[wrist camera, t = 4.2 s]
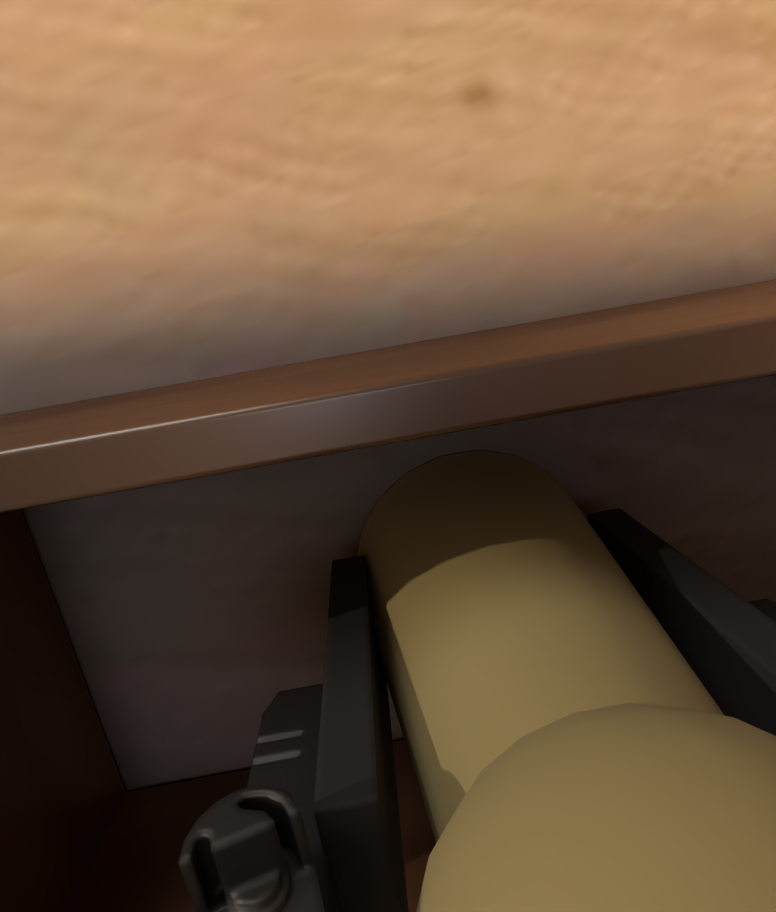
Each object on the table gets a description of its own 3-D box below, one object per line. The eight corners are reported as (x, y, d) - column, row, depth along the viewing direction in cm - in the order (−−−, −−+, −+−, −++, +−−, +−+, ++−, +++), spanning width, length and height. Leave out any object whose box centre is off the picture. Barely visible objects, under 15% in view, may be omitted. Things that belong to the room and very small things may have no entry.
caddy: (912, 255, 13) (1376, 208, 7) (876, 671, 16) (1178, 878, 10) (-47, 423, 12) (-399, 520, 7) (107, 817, 15) (-41, 1122, 10)
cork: (622, 488, 14) (1520, 1072, 3) (535, 685, 15) (963, 1551, 5) (398, 419, 13) (617, 901, 2) (327, 633, 14) (259, 1554, 4)
